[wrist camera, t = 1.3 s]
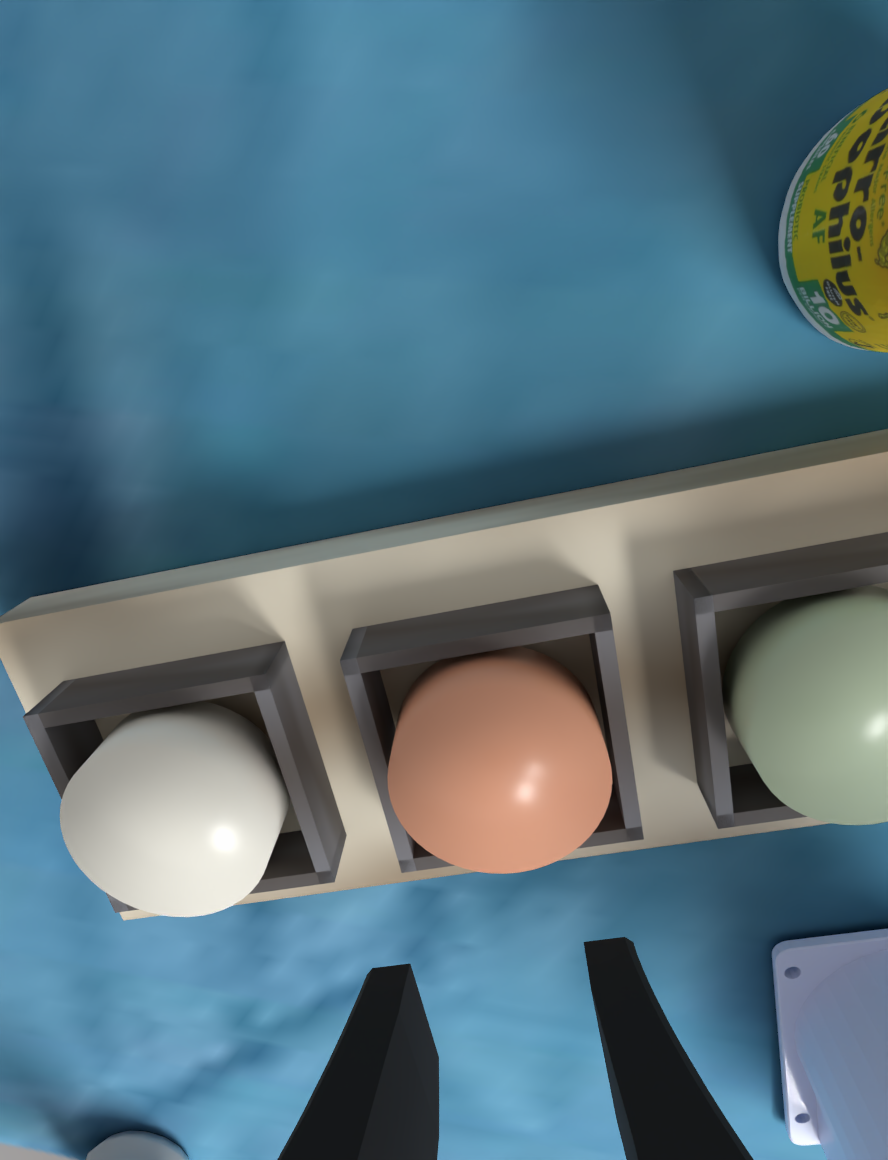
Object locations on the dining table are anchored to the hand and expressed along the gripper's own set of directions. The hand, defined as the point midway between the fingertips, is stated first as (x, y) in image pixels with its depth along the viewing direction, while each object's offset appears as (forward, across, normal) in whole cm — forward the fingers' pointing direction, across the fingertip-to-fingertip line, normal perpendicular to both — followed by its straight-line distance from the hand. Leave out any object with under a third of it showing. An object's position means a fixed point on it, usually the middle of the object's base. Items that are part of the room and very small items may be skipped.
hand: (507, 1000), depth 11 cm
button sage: (+7, -8, 0) cm, 11 cm away
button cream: (+7, +8, 0) cm, 11 cm away
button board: (+10, 0, 0) cm, 10 cm away
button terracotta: (+7, 0, 0) cm, 7 cm away
